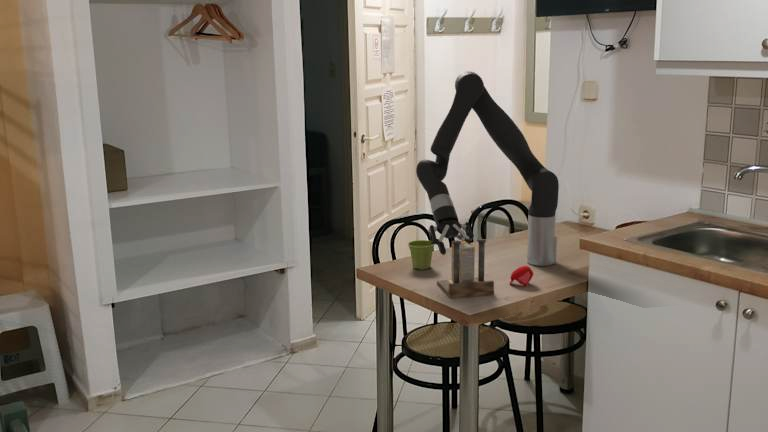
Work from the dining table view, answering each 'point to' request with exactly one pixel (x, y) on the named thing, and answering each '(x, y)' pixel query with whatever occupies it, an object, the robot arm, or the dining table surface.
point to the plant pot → (421, 253)
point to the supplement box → (465, 262)
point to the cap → (522, 275)
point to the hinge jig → (469, 288)
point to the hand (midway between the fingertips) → (456, 252)
